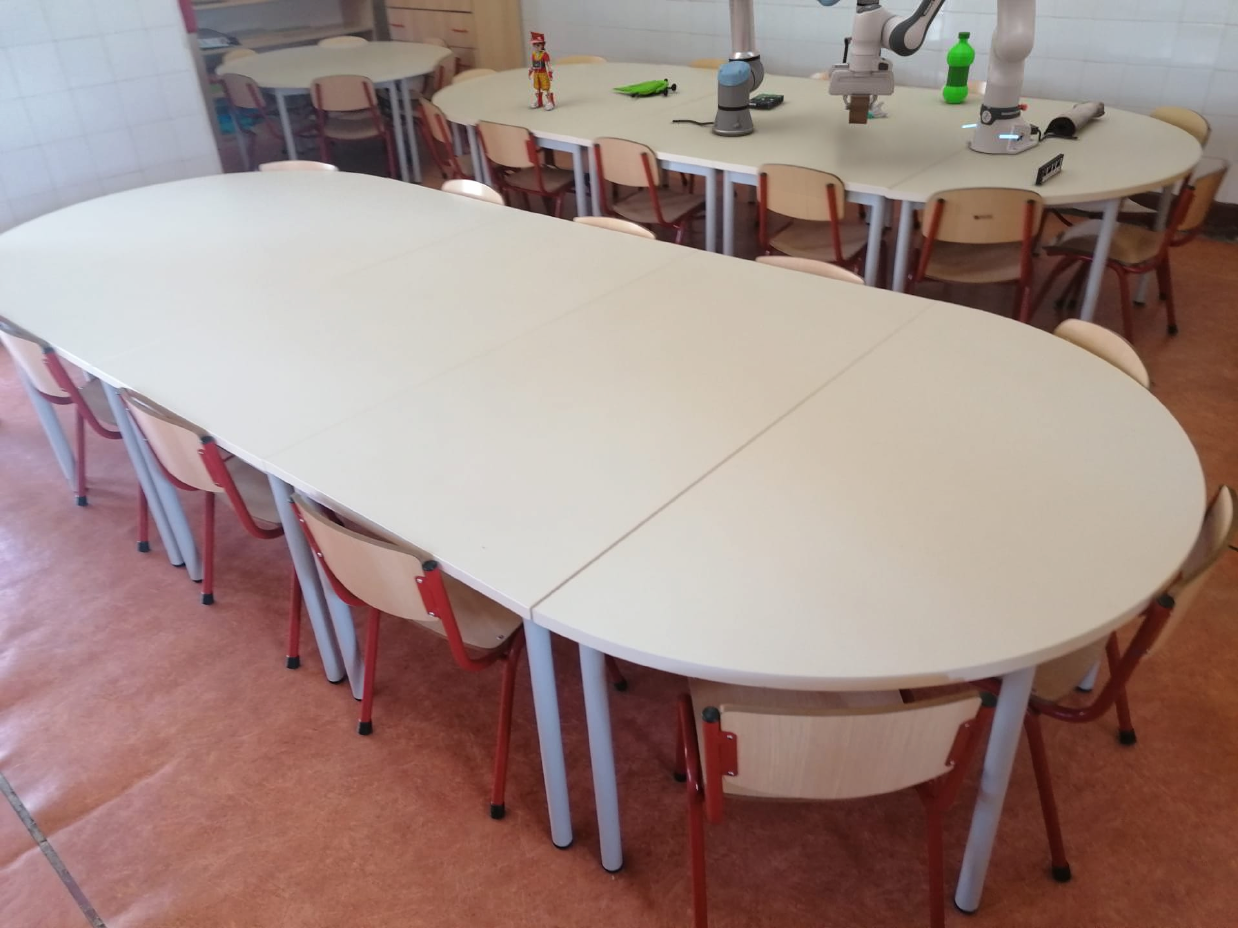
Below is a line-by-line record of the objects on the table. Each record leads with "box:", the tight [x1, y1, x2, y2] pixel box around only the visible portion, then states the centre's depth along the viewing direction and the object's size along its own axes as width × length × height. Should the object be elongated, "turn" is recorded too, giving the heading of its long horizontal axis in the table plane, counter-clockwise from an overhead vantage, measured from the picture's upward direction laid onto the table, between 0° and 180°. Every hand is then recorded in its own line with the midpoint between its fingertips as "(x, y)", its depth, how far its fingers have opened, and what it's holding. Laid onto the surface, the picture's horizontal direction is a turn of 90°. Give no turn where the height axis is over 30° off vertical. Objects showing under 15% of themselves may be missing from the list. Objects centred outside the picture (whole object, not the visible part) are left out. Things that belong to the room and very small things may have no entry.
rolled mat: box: [1043, 100, 1106, 137], centre depth 316 cm, size 30×9×10 cm
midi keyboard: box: [1035, 153, 1065, 186], centre depth 273 cm, size 18×1×5 cm, turn 138°
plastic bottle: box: [942, 31, 976, 104], centre depth 348 cm, size 10×10×25 cm
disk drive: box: [749, 93, 785, 110], centre depth 365 cm, size 10×3×15 cm
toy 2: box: [612, 78, 677, 99], centre depth 396 cm, size 28×5×30 cm
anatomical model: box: [868, 95, 888, 119], centre depth 345 cm, size 15×10×10 cm
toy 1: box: [527, 31, 556, 111], centre depth 374 cm, size 12×9×30 cm
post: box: [848, 94, 871, 125], centre depth 303 cm, size 54×6×8 cm, turn 167°
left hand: (858, 89), depth 323 cm, fingers closed on post, 6 cm apart
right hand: (858, 109), depth 287 cm, fingers closed on post, 5 cm apart
